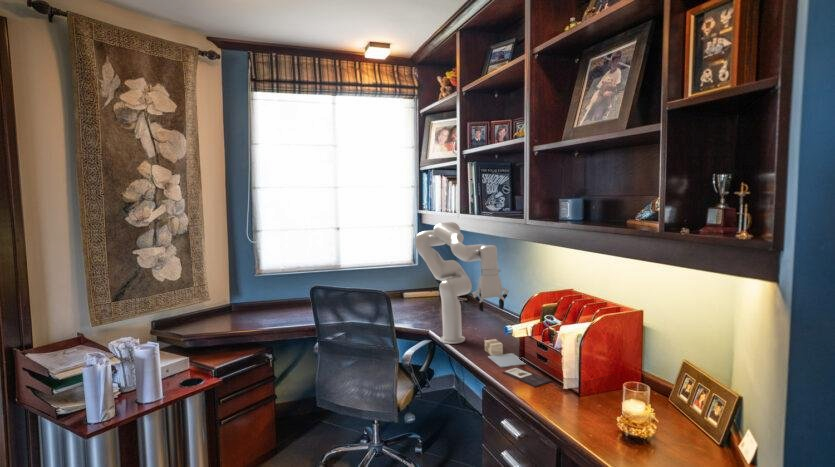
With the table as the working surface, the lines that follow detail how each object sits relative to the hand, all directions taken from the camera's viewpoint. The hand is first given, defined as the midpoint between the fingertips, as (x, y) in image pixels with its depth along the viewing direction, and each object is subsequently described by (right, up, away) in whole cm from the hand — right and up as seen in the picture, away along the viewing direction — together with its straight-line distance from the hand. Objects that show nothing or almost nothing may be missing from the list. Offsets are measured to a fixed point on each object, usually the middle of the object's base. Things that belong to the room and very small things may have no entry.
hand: (491, 309), depth 206 cm
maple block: (+1, -20, +2) cm, 20 cm away
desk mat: (+5, -20, -9) cm, 23 cm away
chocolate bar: (+9, -22, -29) cm, 38 cm away
